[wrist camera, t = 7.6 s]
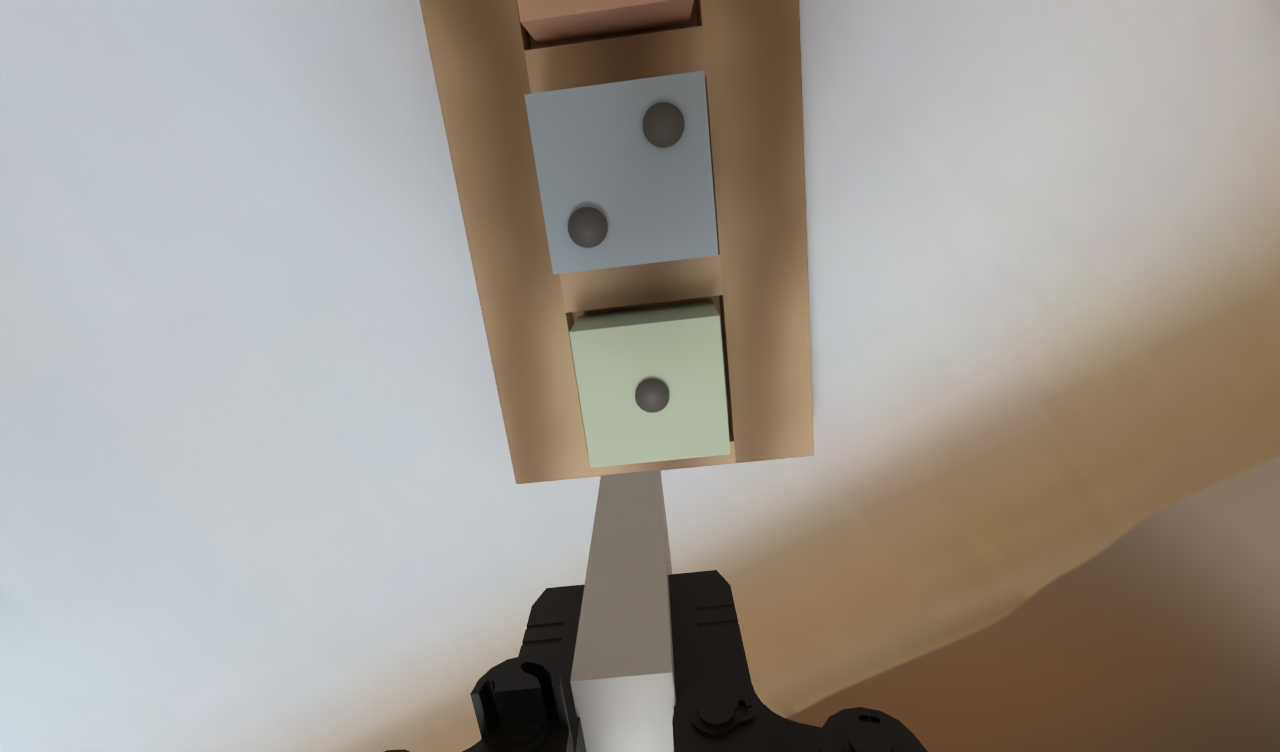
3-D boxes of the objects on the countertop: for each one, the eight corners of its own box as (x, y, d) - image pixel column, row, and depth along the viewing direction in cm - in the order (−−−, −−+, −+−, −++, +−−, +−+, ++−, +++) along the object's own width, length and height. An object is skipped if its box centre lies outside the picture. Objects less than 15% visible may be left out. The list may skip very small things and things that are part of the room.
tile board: (526, 461, 30) (516, 484, 28) (409, -152, 23) (381, -190, 20) (801, 434, 30) (813, 455, 27) (776, -211, 22) (790, -258, 20)
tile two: (565, 263, 25) (552, 275, 21) (541, 107, 23) (523, 93, 20) (710, 246, 24) (719, 255, 21) (697, 86, 22) (704, 69, 19)
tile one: (597, 438, 28) (589, 469, 25) (578, 315, 27) (568, 333, 23) (722, 425, 28) (731, 456, 25) (711, 300, 26) (720, 316, 23)
